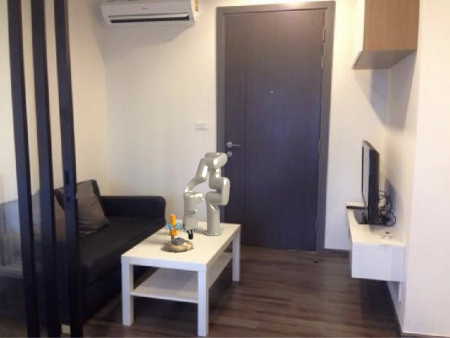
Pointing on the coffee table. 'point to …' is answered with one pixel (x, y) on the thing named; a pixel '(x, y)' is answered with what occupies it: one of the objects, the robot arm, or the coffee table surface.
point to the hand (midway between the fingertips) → (190, 239)
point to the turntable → (174, 248)
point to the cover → (178, 241)
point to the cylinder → (173, 225)
